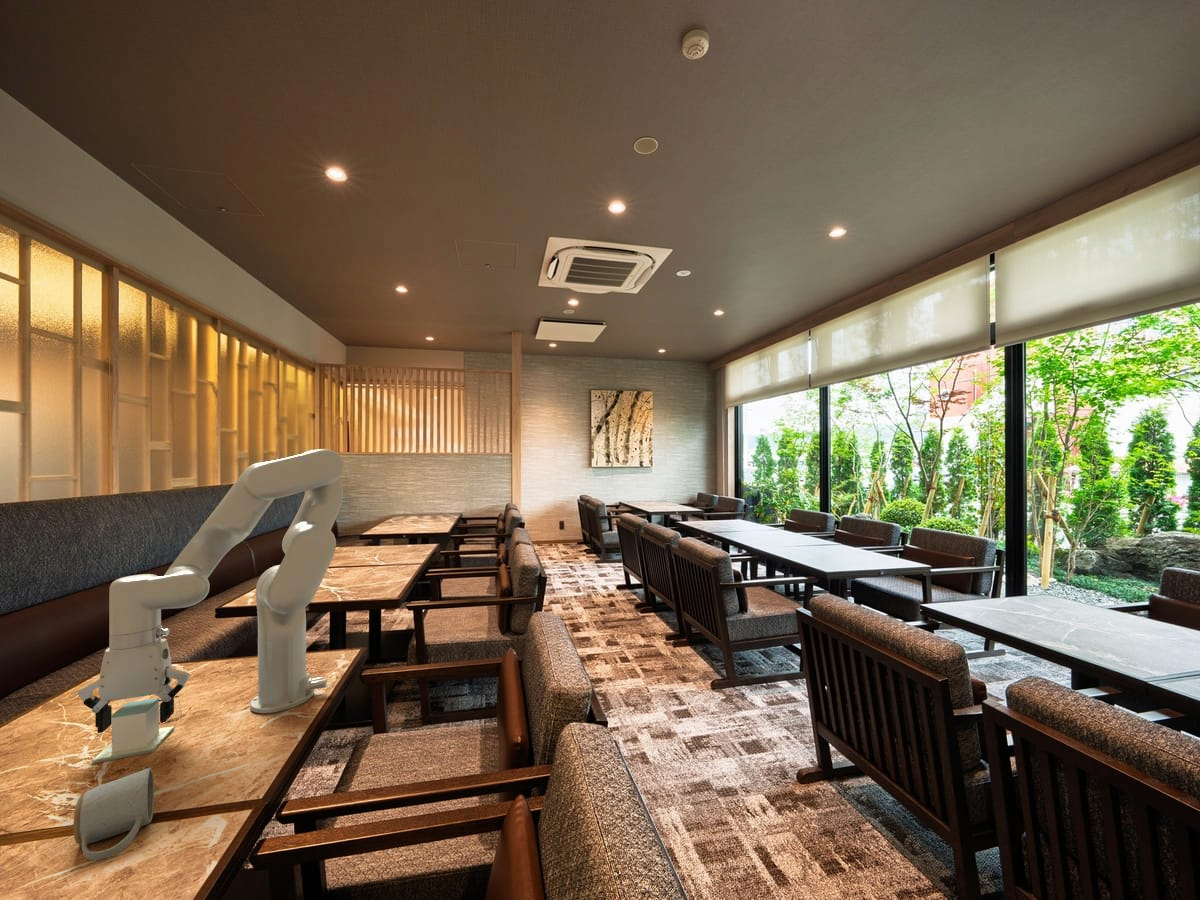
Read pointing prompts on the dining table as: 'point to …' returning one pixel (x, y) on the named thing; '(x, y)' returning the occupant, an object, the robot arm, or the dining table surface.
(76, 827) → the ceramic mug
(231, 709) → the dining table surface
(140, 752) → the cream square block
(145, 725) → the cream and teal block
